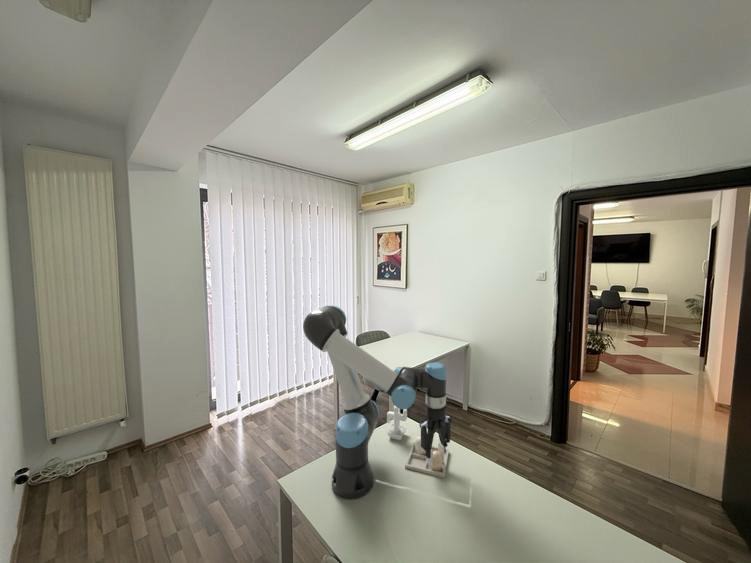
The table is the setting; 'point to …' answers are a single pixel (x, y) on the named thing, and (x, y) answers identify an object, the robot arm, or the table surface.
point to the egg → (437, 461)
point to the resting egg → (419, 447)
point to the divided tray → (424, 462)
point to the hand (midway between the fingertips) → (435, 462)
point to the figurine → (396, 423)
